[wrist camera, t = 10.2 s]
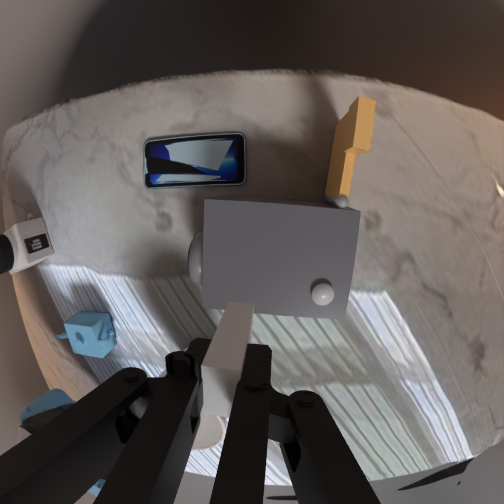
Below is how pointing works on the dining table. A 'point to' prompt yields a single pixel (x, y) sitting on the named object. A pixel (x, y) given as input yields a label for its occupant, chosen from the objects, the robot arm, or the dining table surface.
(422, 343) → the dining table surface
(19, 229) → the container
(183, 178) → the smartphone
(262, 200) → the case
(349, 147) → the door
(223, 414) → the robot arm
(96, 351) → the teapot
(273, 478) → the dining table surface
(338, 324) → the dining table surface
